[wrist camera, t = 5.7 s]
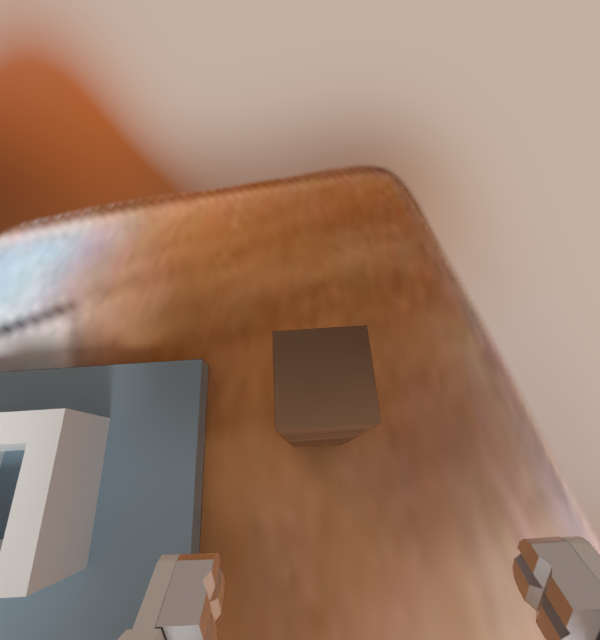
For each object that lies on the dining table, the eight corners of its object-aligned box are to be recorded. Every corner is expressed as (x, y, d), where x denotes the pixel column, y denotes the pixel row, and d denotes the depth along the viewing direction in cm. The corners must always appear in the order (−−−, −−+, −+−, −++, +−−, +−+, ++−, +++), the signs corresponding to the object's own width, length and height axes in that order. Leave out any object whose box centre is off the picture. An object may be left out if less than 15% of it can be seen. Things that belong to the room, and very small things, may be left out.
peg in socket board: (195, 630, 17) (148, 700, 12) (-154, 651, 17) (-346, 730, 12) (208, 365, 23) (179, 337, 18) (-57, 382, 23) (-162, 359, 18)
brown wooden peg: (342, 444, 21) (381, 423, 10) (293, 446, 21) (275, 430, 10) (337, 394, 22) (366, 325, 11) (291, 397, 22) (272, 331, 11)
